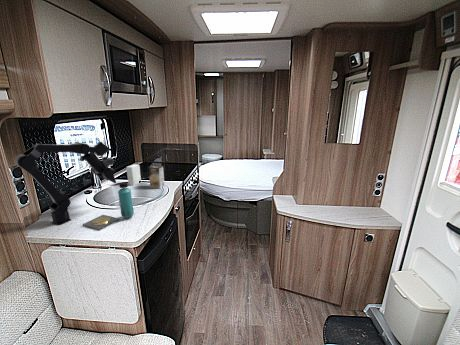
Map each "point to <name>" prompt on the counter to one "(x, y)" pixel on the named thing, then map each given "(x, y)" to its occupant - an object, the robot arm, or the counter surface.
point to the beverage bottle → (125, 200)
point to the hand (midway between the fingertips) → (111, 181)
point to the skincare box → (133, 174)
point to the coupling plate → (101, 222)
